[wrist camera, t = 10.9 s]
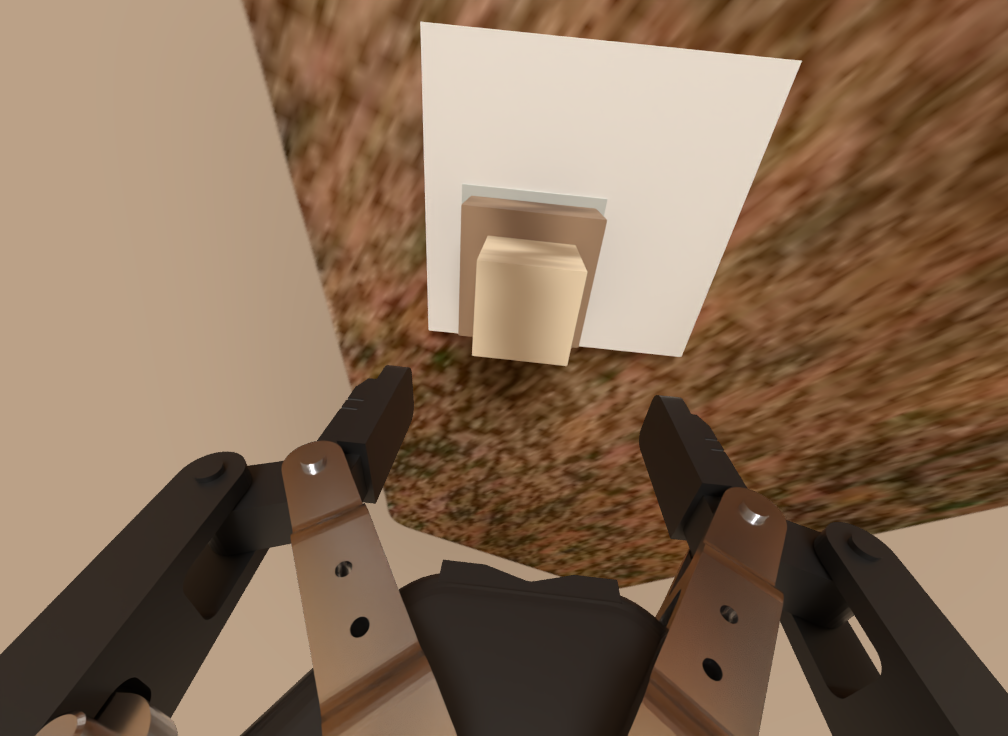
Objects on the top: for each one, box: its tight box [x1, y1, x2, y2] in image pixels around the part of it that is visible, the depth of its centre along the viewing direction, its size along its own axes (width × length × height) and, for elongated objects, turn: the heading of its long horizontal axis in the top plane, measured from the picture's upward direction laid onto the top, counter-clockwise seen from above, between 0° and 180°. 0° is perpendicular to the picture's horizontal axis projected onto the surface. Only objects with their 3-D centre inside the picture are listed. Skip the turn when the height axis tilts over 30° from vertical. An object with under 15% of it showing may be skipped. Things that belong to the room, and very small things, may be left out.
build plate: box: [421, 22, 802, 357], centre depth 24 cm, size 20×18×1 cm
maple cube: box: [472, 236, 587, 366], centre depth 20 cm, size 5×5×5 cm
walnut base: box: [458, 196, 607, 348], centre depth 24 cm, size 8×8×4 cm
